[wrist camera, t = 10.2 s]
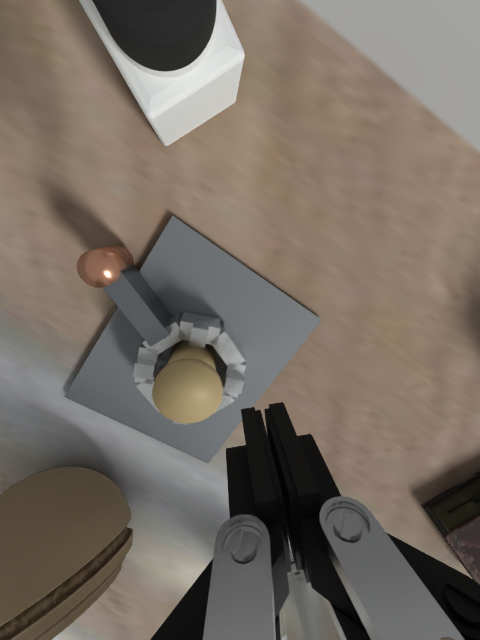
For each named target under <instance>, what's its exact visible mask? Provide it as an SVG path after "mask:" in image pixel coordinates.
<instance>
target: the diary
mask: <svg viewBox="0 0 480 640" xmlns="http://www.w3.org/2000/svg"><path fill="white" fill-rule="evenodd" d="M479 473H480V472H478V473H476V474H479ZM476 474H475V475H476ZM421 505H422V507H423V508H424V509H425V511H426V512H427V514H428V515H429V517H430V518H431V519H432V521H433V522H434V524H435V525H436V526H437V528H438V529H439V531H440V532H441V534H442V535H443V536H444V538H445V539H446V541H447V542H449V543H450V545H451V546H452V548H453V549H454V550H455V552H456V553H457V557H458V556H459V558H460V559H461V563H462V565H463V566H464V568H465V569H466V570H467V572H468V573H469V574H470V576H471V577H472V578H473V580H474V581H476V582H477V583H479V584H480V474H479V475H477V476H475V477H474V478H472V479H470V480H468V481H467V482H465V483H463V484H460V485H458V486H456V487H454V488H451V489H449V490H447V491H445V492H443V493H441V494H439V495H438V496H436V497H434V498H432V499H430V500H428V501H427V502H425V503H423V504H421Z"/></svg>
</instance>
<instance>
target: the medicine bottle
mask: <svg viewBox="0 0 480 640" xmlns="http://www.w3.org/2000/svg"><path fill="white" fill-rule="evenodd" d="M79 2H80V3H81V5H82V7H83V9H84V10H85V12H86V14H87V16H88V17H89V19H90V21H91V22H92V24H93V26H94V28H95V29H96V31H97V33H98V35H99V36H100V38H101V40H102V41H103V43H104V45H105V47H106V48H107V50H108V52H109V54H110V55H111V57H112V59H113V60H114V62H115V64H116V66H117V67H118V69H119V71H120V73H121V74H122V76H123V78H124V80H125V81H126V83H127V85H128V86H129V88H130V90H131V92H132V93H133V95H134V97H135V99H136V100H137V102H138V104H139V105H140V107H141V109H142V111H143V112H144V114H145V116H146V118H147V119H148V121H149V122H150V124H151V126H152V127H153V129H154V131H155V132H156V134H157V136H158V137H159V139H160V141H161V142H162V144H163V145H164V146H169V145H170V144H172V143H173V142H175V141H176V140H178V139H179V138H181V137H183V136H184V135H186V134H187V133H189V132H190V131H192V130H193V129H195V128H196V127H198V126H200V125H201V124H203V123H204V122H206V121H207V120H209V119H210V118H212V117H214V116H215V115H217V114H218V113H220V112H221V111H223V110H224V109H226V108H227V107H229V106H231V105H232V104H234V103H235V102H236V97H237V92H238V87H239V82H240V77H241V72H242V66H243V61H244V56H245V54H244V50H243V48H242V46H241V43H240V41H239V39H238V37H237V34H236V32H235V30H234V27H233V25H232V23H231V21H230V18H229V16H228V14H227V12H226V9H225V7H224V5H223V3H222V0H79Z"/></svg>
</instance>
